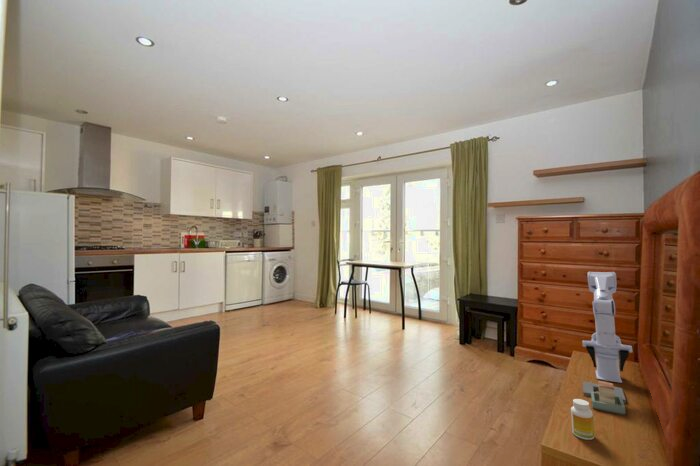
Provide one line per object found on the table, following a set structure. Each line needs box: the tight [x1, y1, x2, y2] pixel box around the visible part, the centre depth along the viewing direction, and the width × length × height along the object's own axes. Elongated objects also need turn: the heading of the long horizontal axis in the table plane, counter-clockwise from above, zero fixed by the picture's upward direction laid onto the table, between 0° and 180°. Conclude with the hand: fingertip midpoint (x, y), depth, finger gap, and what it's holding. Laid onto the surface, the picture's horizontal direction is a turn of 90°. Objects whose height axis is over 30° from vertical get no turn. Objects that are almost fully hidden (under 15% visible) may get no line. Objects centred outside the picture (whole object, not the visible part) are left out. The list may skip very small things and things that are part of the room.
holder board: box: [582, 380, 627, 404], centre depth 119 cm, size 11×12×1 cm
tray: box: [590, 391, 626, 416], centre depth 110 cm, size 9×9×2 cm
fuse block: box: [597, 380, 615, 405], centre depth 110 cm, size 4×4×7 cm
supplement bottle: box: [570, 398, 595, 441], centre depth 95 cm, size 5×5×10 cm
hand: (607, 368), depth 119 cm, fingers open, 7 cm apart
